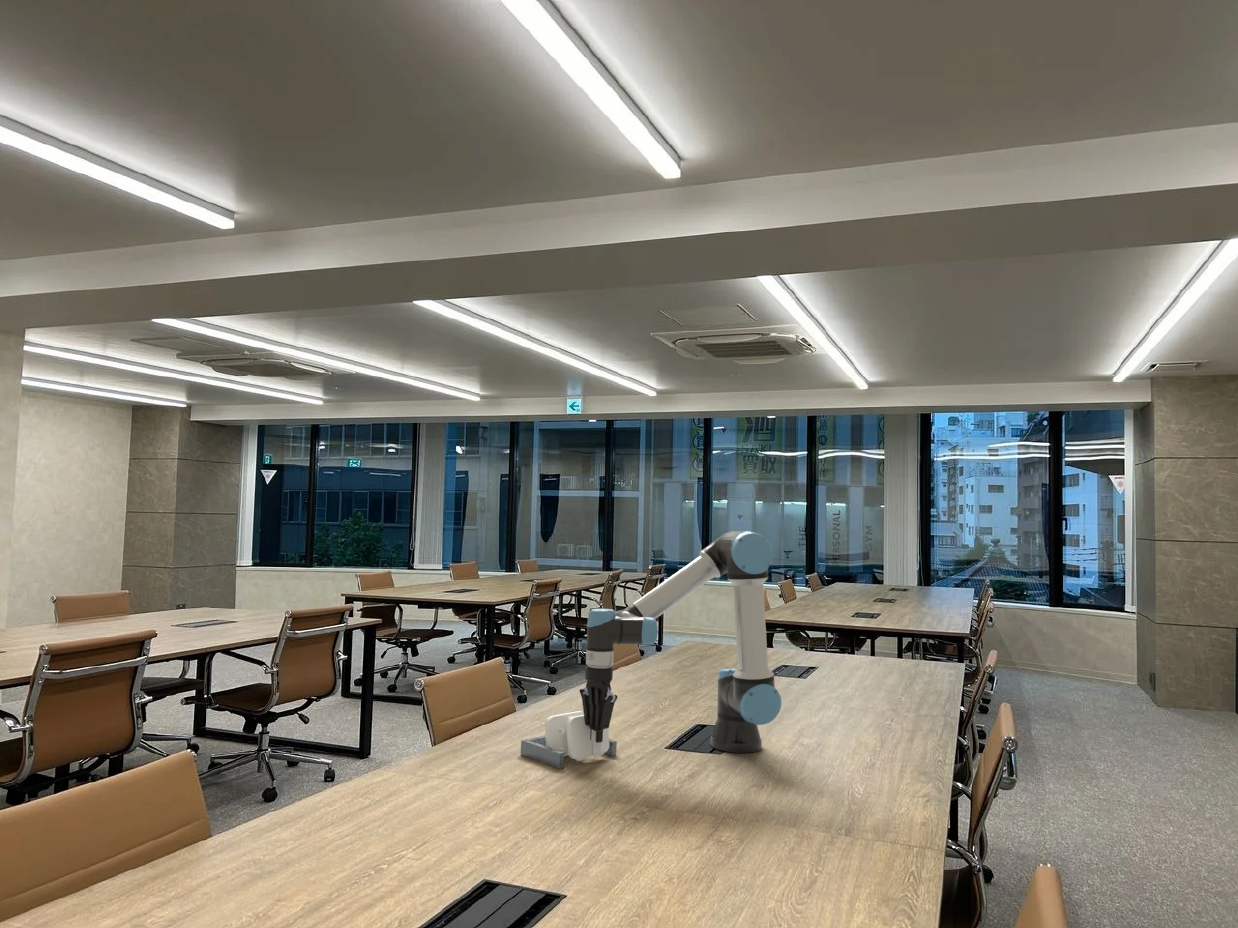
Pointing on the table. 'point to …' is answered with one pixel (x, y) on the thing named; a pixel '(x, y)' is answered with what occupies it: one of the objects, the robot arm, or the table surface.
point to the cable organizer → (572, 735)
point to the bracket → (551, 751)
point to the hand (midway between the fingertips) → (595, 753)
